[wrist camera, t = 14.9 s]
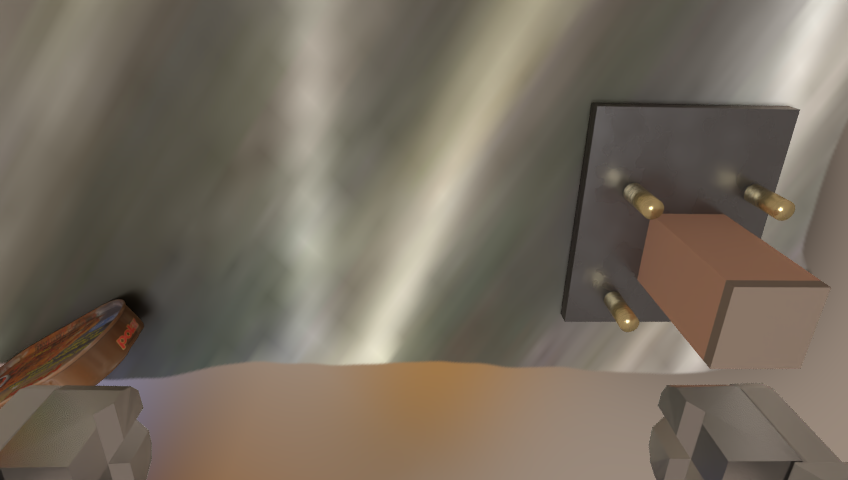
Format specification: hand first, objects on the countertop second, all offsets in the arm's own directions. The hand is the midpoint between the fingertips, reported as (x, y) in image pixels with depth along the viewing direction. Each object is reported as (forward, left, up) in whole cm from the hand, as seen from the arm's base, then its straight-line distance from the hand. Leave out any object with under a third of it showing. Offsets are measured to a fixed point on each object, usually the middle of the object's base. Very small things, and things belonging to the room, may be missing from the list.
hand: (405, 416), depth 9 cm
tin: (+20, -26, -31) cm, 45 cm away
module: (+11, +21, -30) cm, 38 cm away
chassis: (+9, +20, -31) cm, 38 cm away
